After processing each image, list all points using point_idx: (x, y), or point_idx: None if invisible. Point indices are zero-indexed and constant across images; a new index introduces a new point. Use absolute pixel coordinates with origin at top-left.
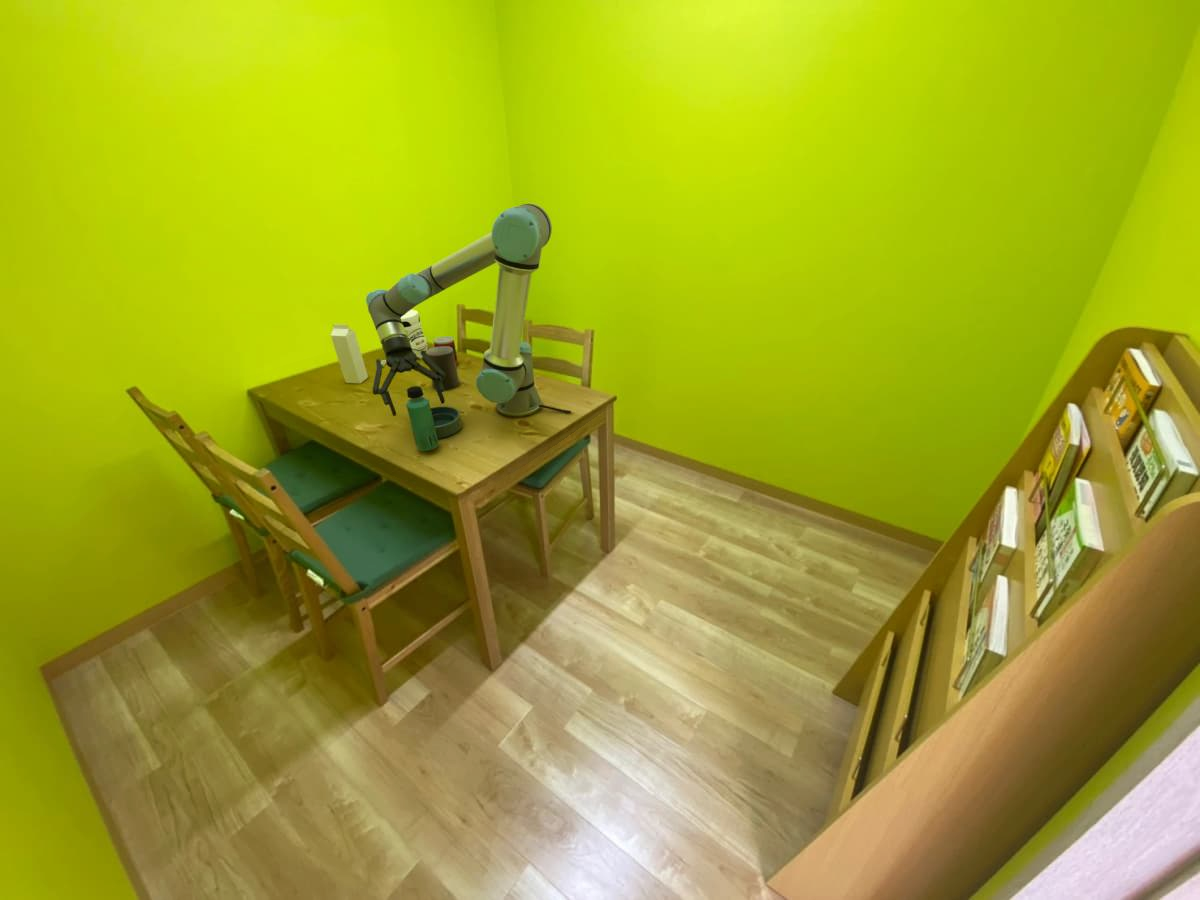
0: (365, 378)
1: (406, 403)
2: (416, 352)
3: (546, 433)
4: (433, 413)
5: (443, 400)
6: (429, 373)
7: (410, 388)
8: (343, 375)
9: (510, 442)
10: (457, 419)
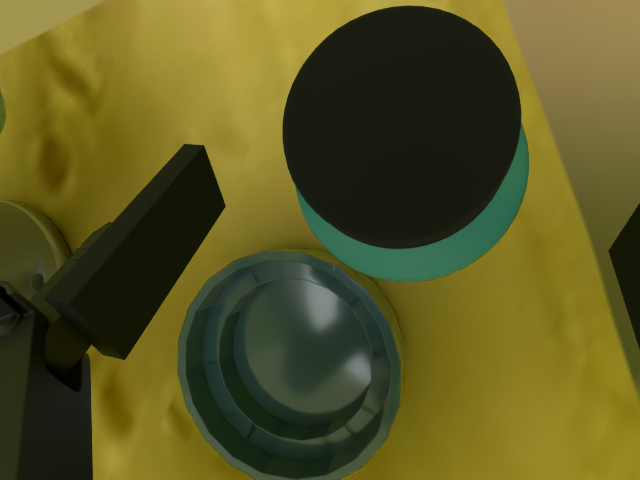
0: None
1: (506, 228)
2: None
3: (34, 48)
4: (274, 454)
5: (195, 148)
6: (6, 425)
7: (441, 162)
8: None
9: (145, 62)
10: (218, 273)
